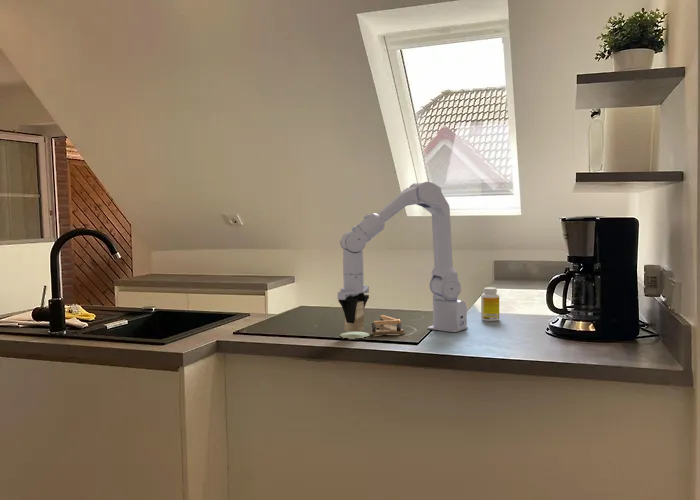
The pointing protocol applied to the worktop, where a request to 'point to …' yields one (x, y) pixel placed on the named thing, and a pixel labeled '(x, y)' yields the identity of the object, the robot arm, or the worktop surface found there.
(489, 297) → the supplement bottle
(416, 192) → the robot arm
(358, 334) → the pad
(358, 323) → the birch handle block
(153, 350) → the worktop surface
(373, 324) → the copper rod course
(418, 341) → the worktop surface
